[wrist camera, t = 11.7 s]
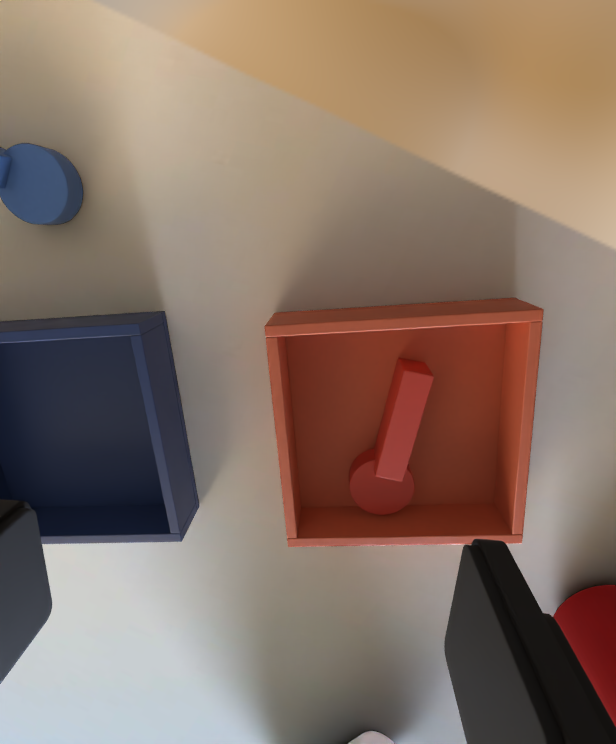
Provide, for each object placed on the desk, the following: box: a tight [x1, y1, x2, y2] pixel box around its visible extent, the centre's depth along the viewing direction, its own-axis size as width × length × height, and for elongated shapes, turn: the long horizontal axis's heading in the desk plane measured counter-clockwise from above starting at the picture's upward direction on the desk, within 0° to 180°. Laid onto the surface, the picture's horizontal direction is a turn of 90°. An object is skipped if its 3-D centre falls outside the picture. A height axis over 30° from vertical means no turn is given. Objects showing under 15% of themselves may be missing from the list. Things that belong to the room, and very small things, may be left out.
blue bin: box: [0, 311, 199, 544], centre depth 26 cm, size 13×13×4 cm
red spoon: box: [349, 357, 434, 515], centre depth 25 cm, size 10×4×2 cm, turn 169°
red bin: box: [265, 298, 544, 547], centre depth 24 cm, size 13×13×4 cm
